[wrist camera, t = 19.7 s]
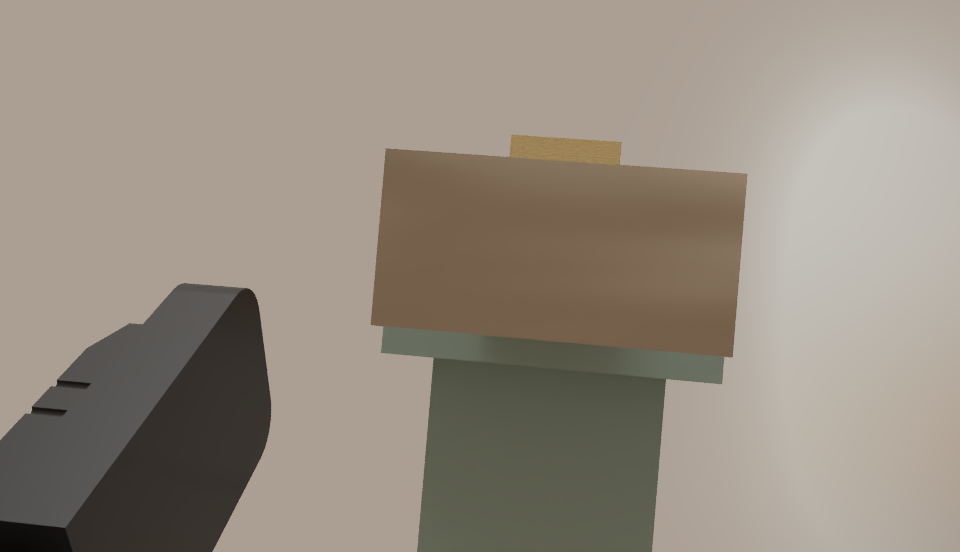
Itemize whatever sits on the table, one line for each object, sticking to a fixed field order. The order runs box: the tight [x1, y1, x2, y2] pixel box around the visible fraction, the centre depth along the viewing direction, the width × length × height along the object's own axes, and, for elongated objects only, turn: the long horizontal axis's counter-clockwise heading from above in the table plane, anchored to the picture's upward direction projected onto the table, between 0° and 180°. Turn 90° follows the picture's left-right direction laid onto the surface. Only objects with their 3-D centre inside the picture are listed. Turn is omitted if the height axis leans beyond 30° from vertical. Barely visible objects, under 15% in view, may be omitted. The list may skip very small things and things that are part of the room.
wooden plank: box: [371, 149, 747, 357], centre depth 26 cm, size 28×5×2 cm, turn 175°
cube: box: [510, 135, 621, 165], centre depth 37 cm, size 4×4×4 cm
